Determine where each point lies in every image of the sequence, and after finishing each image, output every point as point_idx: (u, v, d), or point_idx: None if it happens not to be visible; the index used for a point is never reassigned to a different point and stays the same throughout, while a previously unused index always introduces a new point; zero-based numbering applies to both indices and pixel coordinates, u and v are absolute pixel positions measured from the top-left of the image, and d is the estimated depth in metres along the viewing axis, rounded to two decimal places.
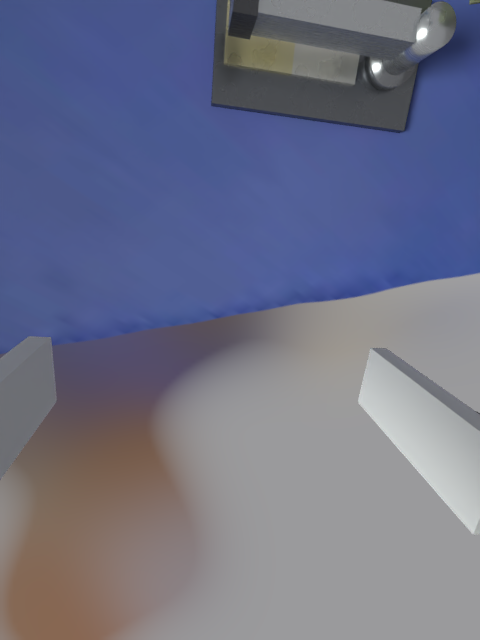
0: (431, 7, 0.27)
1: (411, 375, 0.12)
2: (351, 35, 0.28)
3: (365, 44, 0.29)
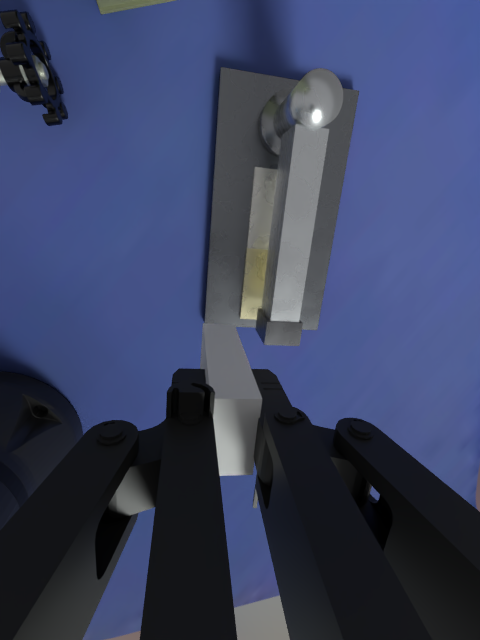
0: (301, 113, 0.21)
1: (228, 344, 0.13)
2: None
3: None
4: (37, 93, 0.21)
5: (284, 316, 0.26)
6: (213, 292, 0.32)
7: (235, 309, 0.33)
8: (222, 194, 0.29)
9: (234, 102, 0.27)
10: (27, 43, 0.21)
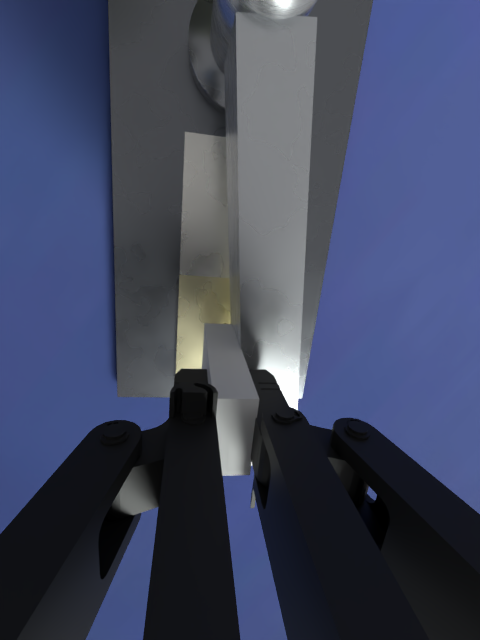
0: None
1: (226, 344, 0.13)
2: None
3: None
4: None
5: None
6: (127, 346, 0.19)
7: (166, 370, 0.20)
8: (130, 182, 0.16)
9: (139, 6, 0.14)
10: None
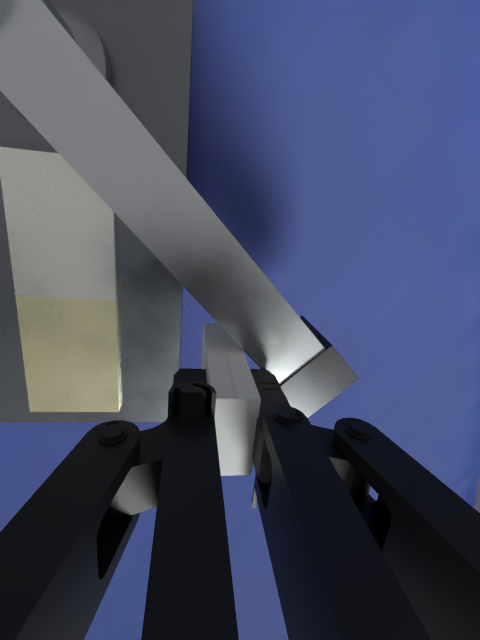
0: None
1: (227, 344, 0.13)
2: None
3: None
4: None
5: (292, 362, 0.13)
6: None
7: (21, 394, 0.19)
8: None
9: None
10: None
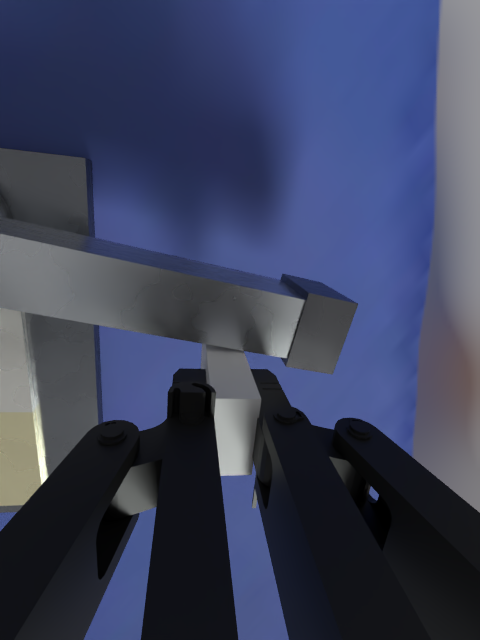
0: None
1: None
2: (68, 244, 0.11)
3: (22, 229, 0.11)
4: None
5: (283, 330, 0.12)
6: None
7: None
8: None
9: None
10: None
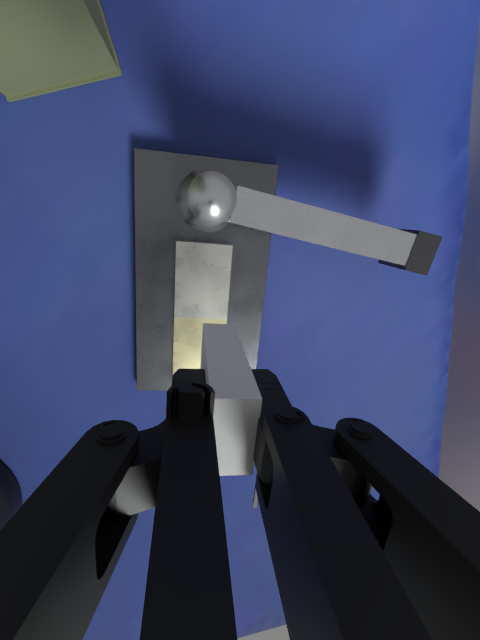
0: (223, 218, 0.21)
1: (228, 344, 0.13)
2: None
3: None
4: None
5: (405, 250, 0.25)
6: (143, 359, 0.32)
7: (167, 374, 0.33)
8: (145, 267, 0.29)
9: (150, 180, 0.27)
10: None
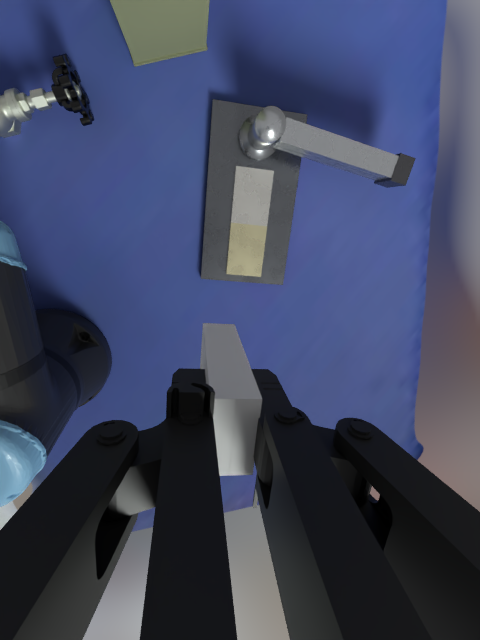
0: (277, 137, 0.35)
1: (228, 344, 0.13)
2: None
3: None
4: (77, 105, 0.34)
5: (391, 166, 0.38)
6: (207, 254, 0.45)
7: (222, 267, 0.46)
8: (213, 184, 0.42)
9: (221, 122, 0.40)
10: (69, 74, 0.33)
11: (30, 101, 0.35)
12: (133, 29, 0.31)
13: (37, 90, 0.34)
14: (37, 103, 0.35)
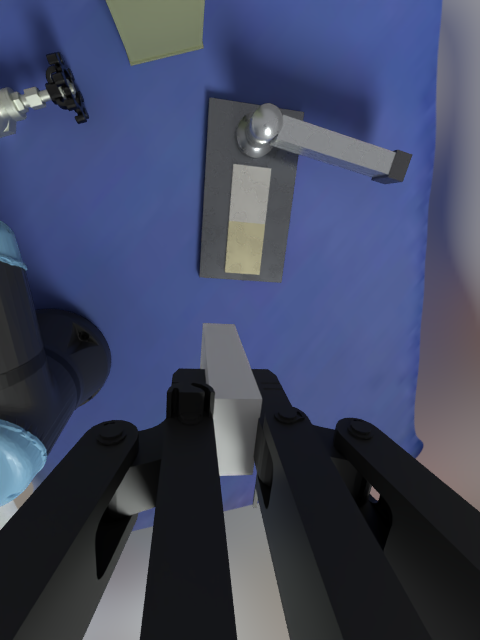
0: (274, 134, 0.35)
1: (228, 344, 0.13)
2: None
3: None
4: (72, 102, 0.34)
5: (388, 163, 0.38)
6: (205, 252, 0.45)
7: (221, 265, 0.46)
8: (211, 183, 0.42)
9: (218, 120, 0.40)
10: (63, 72, 0.33)
11: (24, 100, 0.35)
12: (129, 28, 0.31)
13: (31, 89, 0.34)
14: (31, 102, 0.35)
